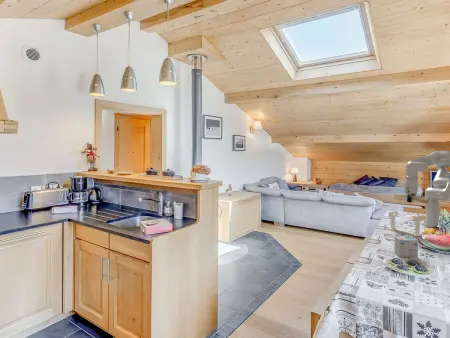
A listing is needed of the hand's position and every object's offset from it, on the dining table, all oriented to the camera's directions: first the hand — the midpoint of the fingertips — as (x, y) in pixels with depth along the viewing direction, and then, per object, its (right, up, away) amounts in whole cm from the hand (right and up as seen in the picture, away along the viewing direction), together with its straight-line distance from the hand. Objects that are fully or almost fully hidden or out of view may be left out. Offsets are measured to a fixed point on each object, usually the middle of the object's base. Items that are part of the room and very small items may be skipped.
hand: (411, 201), depth 224 cm
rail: (0, +1, 0) cm, 1 cm away
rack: (-6, -23, -2) cm, 24 cm away
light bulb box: (-35, -27, -49) cm, 66 cm away
